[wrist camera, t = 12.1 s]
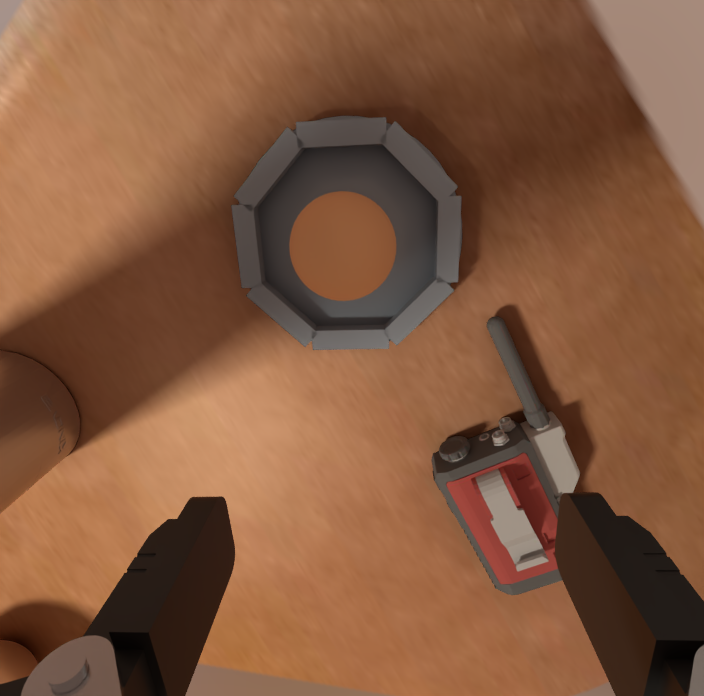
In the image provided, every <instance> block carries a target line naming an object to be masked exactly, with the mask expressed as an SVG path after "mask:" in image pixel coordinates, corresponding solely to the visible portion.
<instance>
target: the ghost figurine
mask: <svg viewBox="0 0 704 696" xmlns="http://www.w3.org/2000/svg"><path fill="white" fill-rule="evenodd" d="M37 665H38V663H37V660H36V659H35V657H34V656H33V654H32V653H31V652H30V651H29V650H28V649H27V648H25V647H24V646H22V645H20V644H18V643H15V642H12V641H7V640H0V684H3V683H7V682H10V681H13V680H17V679H20V678H24V677H27V676H29V675H30V674H31V673H32V671H33V670H34V669H35V668H36V666H37Z"/></svg>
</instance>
